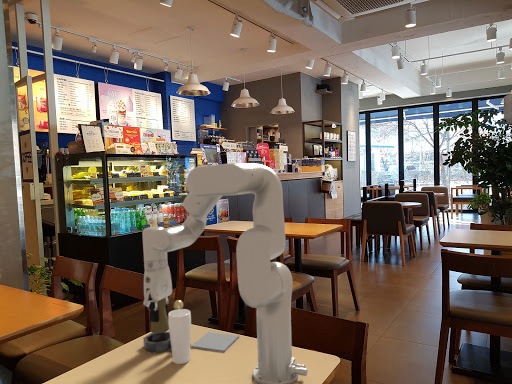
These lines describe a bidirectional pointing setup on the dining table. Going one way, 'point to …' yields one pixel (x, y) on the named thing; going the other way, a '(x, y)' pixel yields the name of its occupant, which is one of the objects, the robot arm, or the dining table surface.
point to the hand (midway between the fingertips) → (159, 318)
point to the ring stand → (160, 337)
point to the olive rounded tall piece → (160, 318)
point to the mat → (215, 341)
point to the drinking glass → (180, 335)
